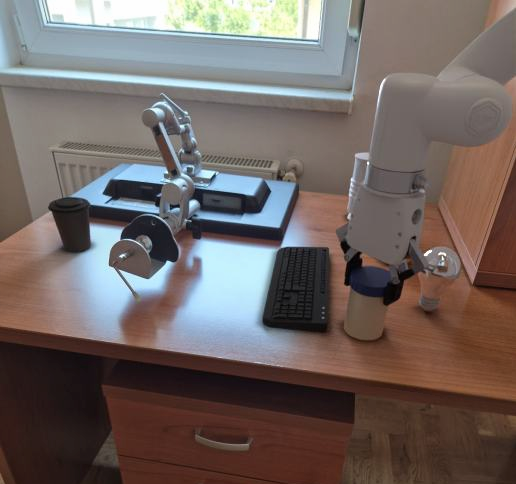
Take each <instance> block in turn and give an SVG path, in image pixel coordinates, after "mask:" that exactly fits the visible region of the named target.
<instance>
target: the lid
mask: <svg viewBox="0 0 516 484" xmlns="http://www.w3.org/2000/svg"><path fill="white" fill-rule="evenodd" d="M389 281H391V275H390V270H388V269H386V268H383V267H379V266H373V265H362V267H358V268H355V269H354V270H353V271H352V272H351V276H350V279H349V284H350V285H349V286H348V287H351V288H352V289H353V290H354V291H356V292H358V293H360V294H362V295H366V296H371V297H384V295H385V290H386V286H387V283H388V282H389Z"/></svg>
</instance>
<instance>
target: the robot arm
mask: <svg viewBox="0 0 516 484" xmlns="http://www.w3.org/2000/svg"><path fill="white" fill-rule="evenodd" d="M514 78H516V7H514V8H513V9H512V10H510V11H508V12H507V13H505V15H503V16H502V17H500V18H499V19H498V20H496V21H495V22H493V23H492V24H491V25H489V27H487V28H486V29H485V30H483V31H482V32H481V33H480V34H479V35H478V36H477V37H476V38H474V39H473V40H472V41H471V42H470V43H469V44H468V45H467V46H466V47H464V49H463V50H462V51H461V52H460V53H459V54H458V55H457V56H455V58H454V59H452V61H450V63H449V64H448V65H447V66H445V67H444V69H443V70H441V72H439V74H438V75H437V76H435V75H431V74H425V73H417V72H395V73H391V74H388V75H387V76H385V77H384V78H383V80H382V82H381V84H380V87H379V92H378V97H377V102H376V108H375V115H374V120H373V121H374V122H373V127H372V134H371V140H370V146H369V152H368V153H369V157H368V162H367V168H366V175H365V181H363V182H362V183H361V185H360V187H359V189H358V192H357V195H356V198H355V201H354V204H353V208H352V212H351V216H350V220H349V219H348V222H347V223H345V224H343V225H342V226H340V227H338V228H337V229H335V234H336V236H337V240H338V242H340V243H339V246H340V249H341V250H342V253H343V254H344V255H343V260H344V262H345V263H346V265H345V271H344V281H343V285H344V286H345V287H350V286H349V285H350V284H349V279H350V276H351V272H352V271H353V270H354V269H355V268H358V267H362V266H363V258H361V257H362V255H363V254H364V255H366V256H368V257H370V258H373V259H375V260H377V261H379V262H382V263H384V264H387V265H388V269H389V270H388V271H390V275H391V281H389V282H388V283H387V286H386V290H385V295H384V299H383V304H384V305H385V306H388V305H389V306H390V305H392V304H394V303H396V302H397V301H399V300H400V298H401V296H402V293H403V289H404V285H405V281H406V280H409V279H411V278H413V277H414V276H416V275H418V273H419V272H421V271H423V270H424V269H426V268H428V267H429V263H428V261H427V260H426V258H425V256H424V252H423V251H422V250H421V247H420V244H421V238H422V233H423V227H424V219H425V209H426V208H425V207H426V206H425V205H426V203H425V202H426V199H425V197H426V193H425V194H424V193H423V192H420V190H421V189H423V190H424V191H426V190H427V191H428V189H429V188H430V185H431V180H430V179H429V178H427V177H425V175H426V166H427V161H428V157H429V153H430V149H431V145H432V142H439V143H443V144H449V145H453V146H456V147H457V146H458V147H464V148H477V147H482V146H484V145H487V144H490V143H492V142H493V141H495V140H497V139H498V138H499V137H500V136H501V135H502V134H503V133H504V132H505V131H506V130H507V128H508V126H509V124H510V123H511V120H512V116H513V112H514V105H513V99H512V97H511V95H510V92H508V89H507V88H506V87H505V85H506V84H508V83H509V81H511V80H513V79H514ZM406 258H407V259H411V261H412V262H413V264H412V266H410V267H409V266H408V263H407V261H406Z"/></svg>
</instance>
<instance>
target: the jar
mask: <svg viewBox="0 0 516 484" xmlns="http://www.w3.org/2000/svg"><path fill="white" fill-rule="evenodd" d="M349 287H350V286H349ZM348 293H349V294H348V300H347V305H346V311H345V317H344V323H343V329H344V332H345V333H346V334H347V335H349V336H350V337H351V338H354V339H357V340H361V341H374V340H377V339H379V338H381V336H382V335H383V332H384V329H385V324H386V319H387V315H388V311H389V307H390V305H388V306H385V305H384V304H383V299H384V297H371V296H366V295H362V294H360V293H358V292H356V291H354V290H353V289H352V288H351V287H350V288H349V292H348Z"/></svg>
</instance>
